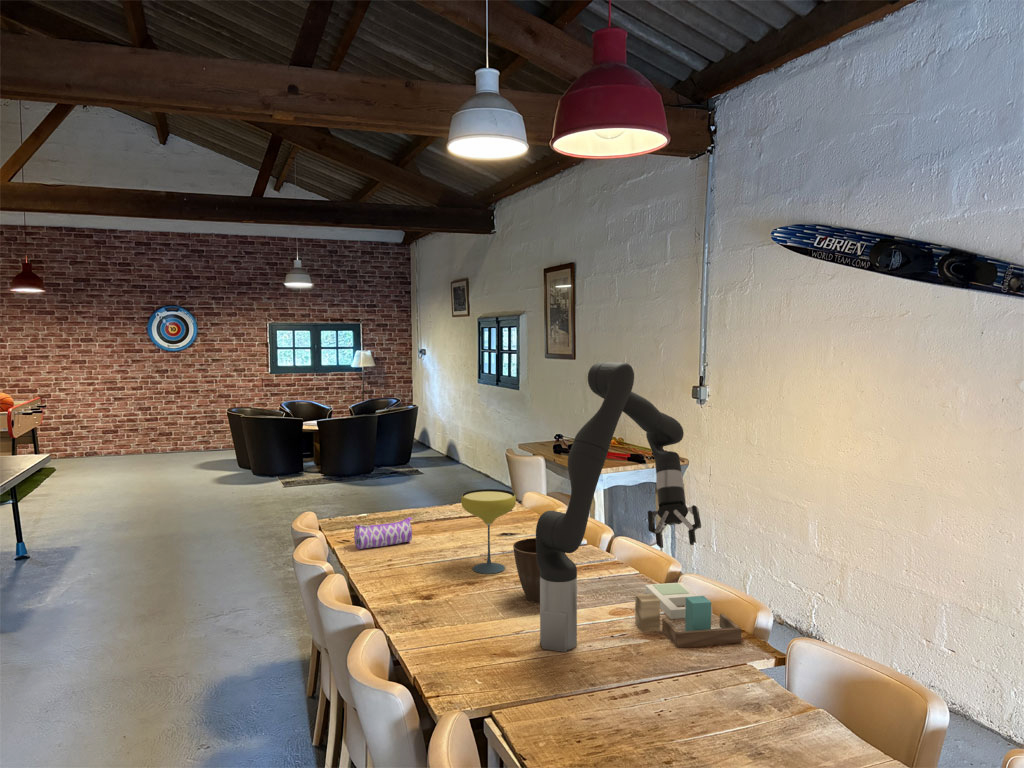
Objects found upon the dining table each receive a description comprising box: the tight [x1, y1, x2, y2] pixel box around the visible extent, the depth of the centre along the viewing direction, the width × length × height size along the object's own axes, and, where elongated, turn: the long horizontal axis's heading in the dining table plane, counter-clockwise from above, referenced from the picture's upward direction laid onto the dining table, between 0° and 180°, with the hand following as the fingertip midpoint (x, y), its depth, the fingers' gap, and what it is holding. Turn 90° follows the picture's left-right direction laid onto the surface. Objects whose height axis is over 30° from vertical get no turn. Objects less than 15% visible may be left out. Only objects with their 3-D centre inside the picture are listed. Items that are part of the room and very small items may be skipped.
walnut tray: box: [661, 613, 742, 648], centre depth 179 cm, size 10×17×4 cm, turn 99°
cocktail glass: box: [460, 488, 517, 575], centre depth 232 cm, size 18×18×25 cm
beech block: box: [634, 593, 661, 632], centre depth 185 cm, size 5×5×8 cm
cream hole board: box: [644, 582, 713, 620], centre depth 201 cm, size 20×12×3 cm, turn 9°
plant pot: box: [512, 537, 540, 604], centre depth 206 cm, size 15×15×16 cm
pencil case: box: [353, 516, 413, 550], centre depth 260 cm, size 22×9×10 cm, turn 118°
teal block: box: [684, 595, 712, 631], centre depth 181 cm, size 4×5×9 cm
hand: (676, 546), depth 192 cm, fingers open, 8 cm apart
